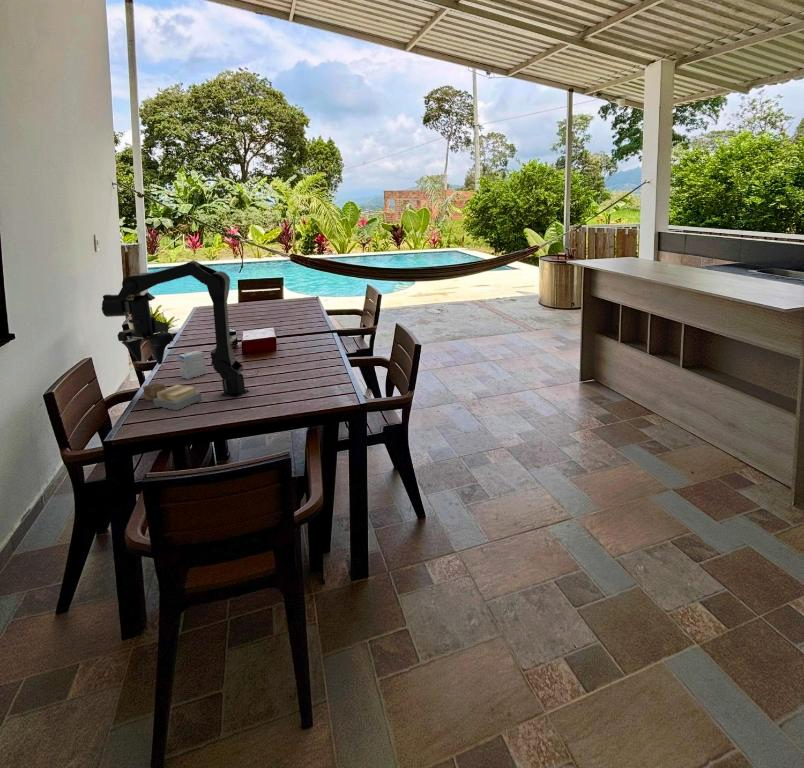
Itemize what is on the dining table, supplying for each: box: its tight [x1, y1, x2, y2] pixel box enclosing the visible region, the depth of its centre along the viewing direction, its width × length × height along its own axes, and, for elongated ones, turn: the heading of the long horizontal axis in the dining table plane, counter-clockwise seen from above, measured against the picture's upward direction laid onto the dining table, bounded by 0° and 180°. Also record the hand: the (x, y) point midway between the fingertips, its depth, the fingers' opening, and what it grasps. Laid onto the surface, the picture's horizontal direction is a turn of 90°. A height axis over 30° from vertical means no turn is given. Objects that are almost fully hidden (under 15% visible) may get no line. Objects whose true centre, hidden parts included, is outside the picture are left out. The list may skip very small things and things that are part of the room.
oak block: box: [157, 384, 197, 402], centre depth 175 cm, size 8×8×2 cm
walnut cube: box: [142, 382, 166, 402], centre depth 181 cm, size 4×4×4 cm
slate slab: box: [152, 391, 203, 411], centre depth 176 cm, size 10×10×2 cm
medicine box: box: [177, 350, 207, 380], centre depth 202 cm, size 8×4×9 cm, turn 141°
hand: (150, 362), depth 178 cm, fingers open, 9 cm apart
